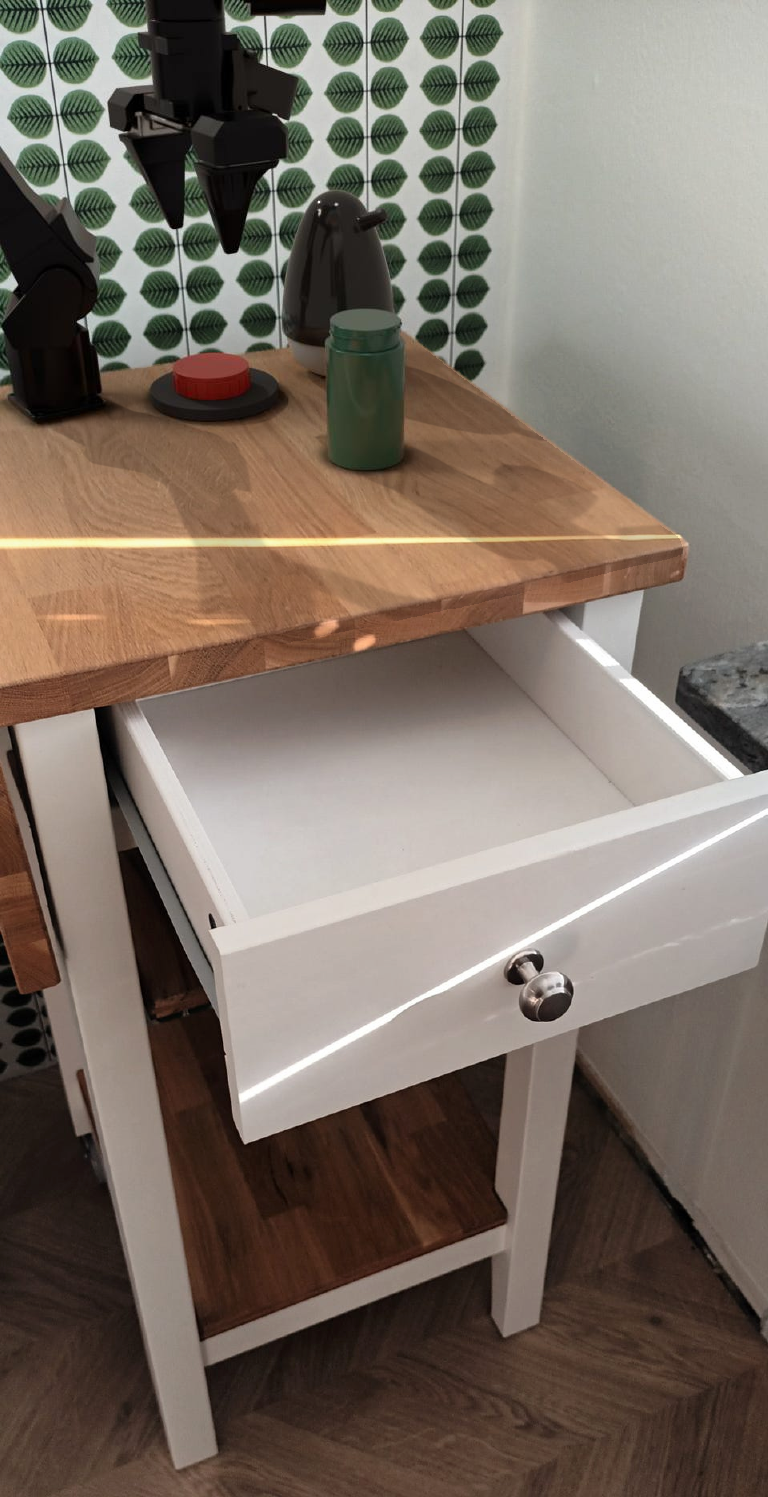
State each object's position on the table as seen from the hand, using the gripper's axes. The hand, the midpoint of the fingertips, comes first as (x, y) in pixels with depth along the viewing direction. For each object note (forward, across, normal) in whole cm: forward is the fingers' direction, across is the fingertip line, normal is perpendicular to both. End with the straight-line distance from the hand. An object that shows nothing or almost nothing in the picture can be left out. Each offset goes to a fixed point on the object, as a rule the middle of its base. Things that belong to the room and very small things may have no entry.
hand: (203, 240), depth 100 cm
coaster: (+13, 0, 0) cm, 13 cm away
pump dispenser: (+13, 0, -13) cm, 19 cm away
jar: (+13, -18, -4) cm, 22 cm away
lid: (+10, 0, 0) cm, 11 cm away
